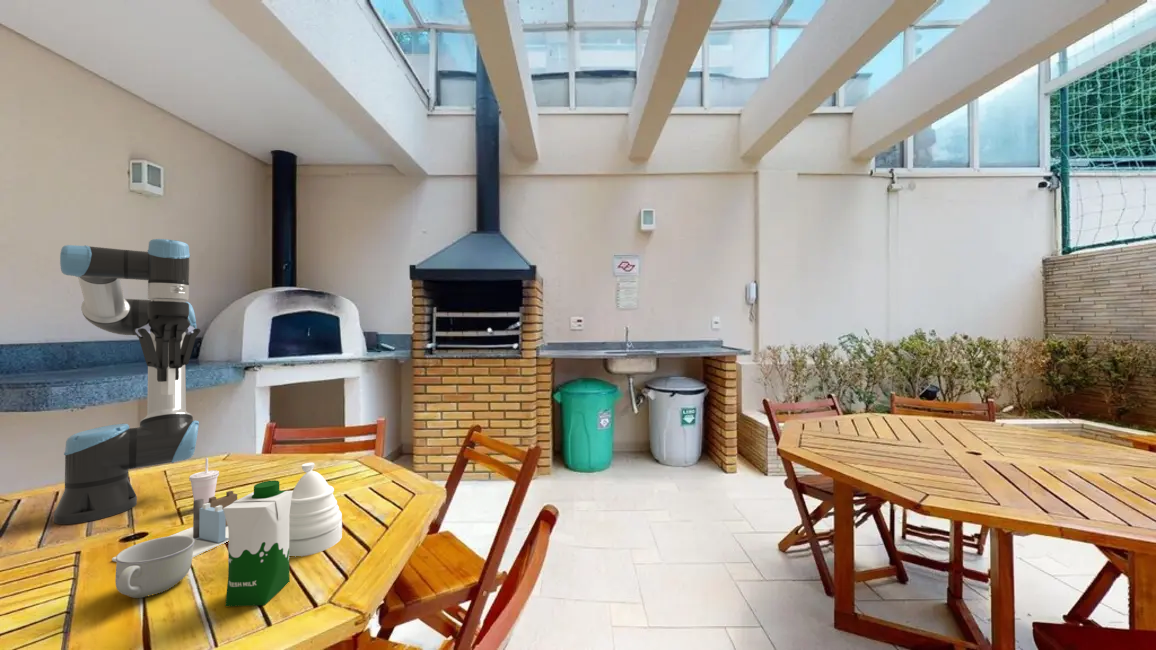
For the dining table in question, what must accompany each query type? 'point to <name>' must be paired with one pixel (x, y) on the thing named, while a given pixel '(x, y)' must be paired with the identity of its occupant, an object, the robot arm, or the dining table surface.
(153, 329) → the robot arm
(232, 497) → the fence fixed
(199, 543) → the card
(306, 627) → the dining table surface
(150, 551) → the teacup
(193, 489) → the smoothie
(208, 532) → the fence panel
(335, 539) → the honey pot
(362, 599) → the dining table surface
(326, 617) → the dining table surface
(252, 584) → the milk carton
